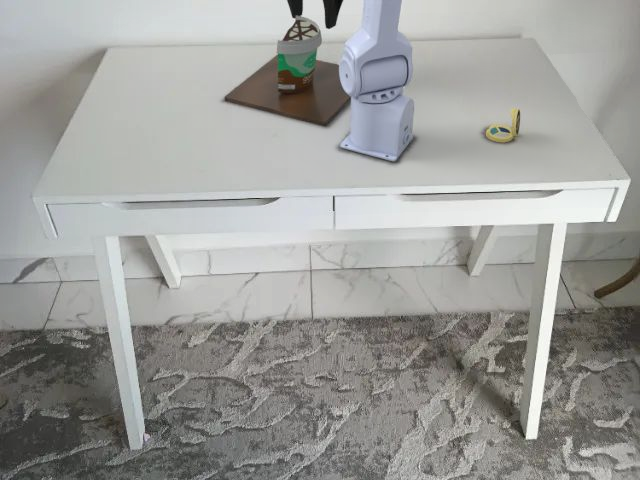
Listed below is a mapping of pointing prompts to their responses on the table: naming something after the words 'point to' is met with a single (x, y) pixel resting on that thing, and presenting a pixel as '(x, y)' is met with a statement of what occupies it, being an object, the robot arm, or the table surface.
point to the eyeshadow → (505, 129)
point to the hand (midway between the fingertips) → (313, 21)
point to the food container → (298, 56)
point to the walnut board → (294, 94)
